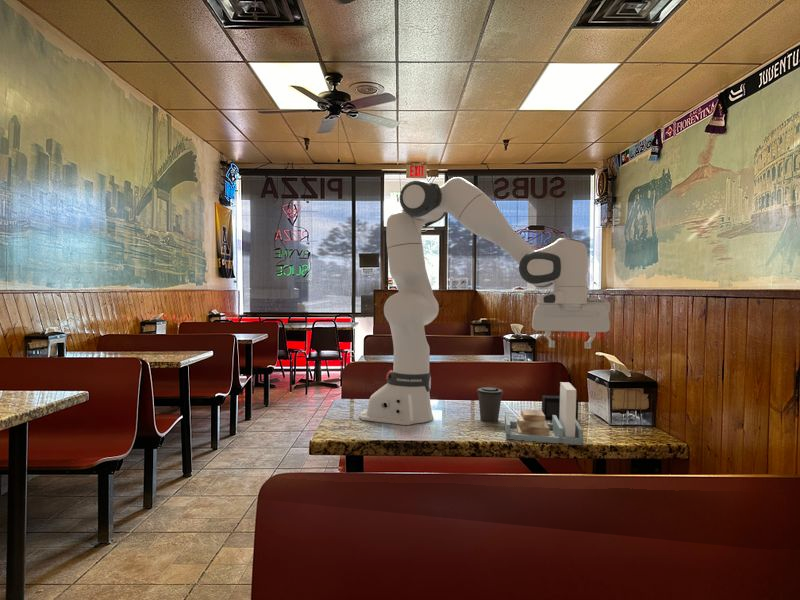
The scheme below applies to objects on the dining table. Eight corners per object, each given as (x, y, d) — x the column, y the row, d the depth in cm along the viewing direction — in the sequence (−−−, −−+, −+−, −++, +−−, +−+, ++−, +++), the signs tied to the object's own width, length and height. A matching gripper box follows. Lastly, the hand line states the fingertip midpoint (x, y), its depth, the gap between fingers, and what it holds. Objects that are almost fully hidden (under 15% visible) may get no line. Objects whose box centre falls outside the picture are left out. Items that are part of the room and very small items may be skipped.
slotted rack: (506, 439, 136) (506, 424, 136) (504, 425, 151) (505, 412, 151) (582, 445, 132) (583, 429, 132) (573, 430, 147) (574, 416, 147)
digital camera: (544, 420, 158) (545, 398, 158) (541, 416, 163) (541, 394, 163) (579, 422, 157) (579, 399, 157) (574, 418, 162) (575, 396, 162)
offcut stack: (518, 437, 138) (518, 415, 138) (516, 428, 148) (516, 407, 148) (549, 440, 136) (550, 417, 136) (545, 430, 146) (546, 409, 146)
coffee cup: (502, 424, 152) (503, 390, 152) (475, 422, 154) (476, 389, 154) (502, 418, 160) (503, 386, 160) (476, 416, 162) (477, 384, 162)
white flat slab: (565, 442, 135) (566, 389, 135) (559, 430, 147) (560, 382, 146) (574, 443, 134) (576, 390, 134) (568, 431, 146) (569, 382, 146)
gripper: (607, 297, 141) (607, 347, 141) (531, 297, 145) (531, 345, 145) (613, 297, 135) (612, 350, 135) (533, 297, 139) (532, 347, 139)
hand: (569, 347), depth 140 cm, fingers open, 8 cm apart
